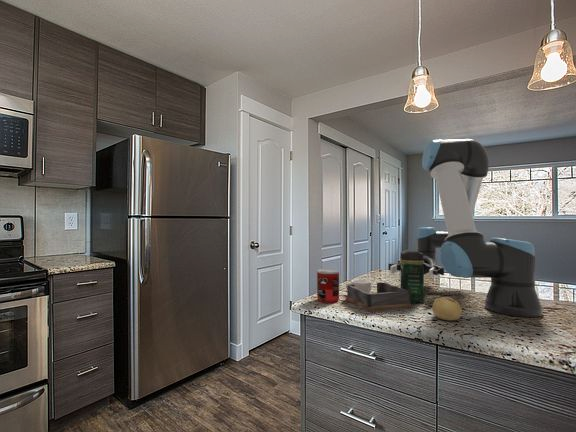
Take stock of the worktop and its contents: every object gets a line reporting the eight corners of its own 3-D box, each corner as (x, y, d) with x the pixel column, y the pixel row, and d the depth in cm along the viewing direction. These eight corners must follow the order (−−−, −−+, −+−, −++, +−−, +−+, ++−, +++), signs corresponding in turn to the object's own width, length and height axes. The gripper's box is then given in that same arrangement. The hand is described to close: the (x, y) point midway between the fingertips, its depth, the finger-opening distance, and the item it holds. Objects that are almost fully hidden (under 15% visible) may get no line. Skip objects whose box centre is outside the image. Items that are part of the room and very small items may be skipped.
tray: (410, 307, 103) (410, 291, 103) (368, 311, 99) (368, 294, 99) (383, 296, 118) (383, 282, 118) (346, 299, 114) (346, 284, 114)
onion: (428, 319, 91) (428, 295, 91) (436, 313, 97) (436, 290, 97) (459, 325, 86) (458, 300, 86) (464, 318, 92) (464, 294, 92)
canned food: (315, 298, 116) (315, 269, 116) (335, 297, 117) (335, 268, 117) (319, 303, 108) (319, 272, 108) (341, 302, 109) (341, 272, 109)
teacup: (369, 292, 124) (369, 279, 124) (373, 297, 117) (373, 283, 117) (344, 292, 125) (344, 279, 125) (346, 297, 118) (346, 282, 118)
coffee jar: (426, 304, 107) (425, 251, 108) (402, 302, 109) (401, 250, 110) (421, 297, 117) (421, 248, 117) (399, 296, 119) (399, 248, 119)
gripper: (455, 276, 122) (448, 286, 105) (392, 271, 137) (376, 278, 119) (455, 258, 123) (448, 264, 105) (392, 254, 137) (376, 259, 119)
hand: (410, 272), depth 112 cm, fingers open, 13 cm apart
